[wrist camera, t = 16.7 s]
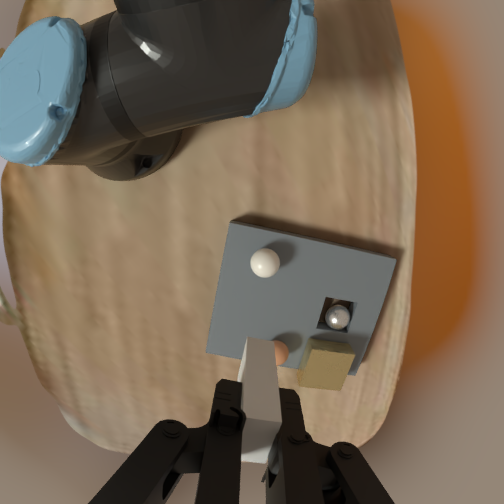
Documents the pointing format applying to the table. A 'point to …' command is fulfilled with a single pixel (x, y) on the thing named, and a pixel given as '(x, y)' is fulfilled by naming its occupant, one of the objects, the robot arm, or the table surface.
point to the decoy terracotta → (280, 352)
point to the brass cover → (324, 364)
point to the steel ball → (337, 317)
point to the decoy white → (265, 262)
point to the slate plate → (295, 293)
